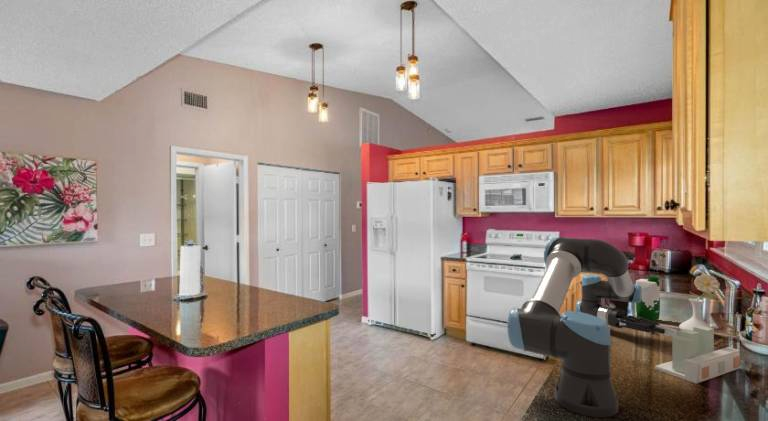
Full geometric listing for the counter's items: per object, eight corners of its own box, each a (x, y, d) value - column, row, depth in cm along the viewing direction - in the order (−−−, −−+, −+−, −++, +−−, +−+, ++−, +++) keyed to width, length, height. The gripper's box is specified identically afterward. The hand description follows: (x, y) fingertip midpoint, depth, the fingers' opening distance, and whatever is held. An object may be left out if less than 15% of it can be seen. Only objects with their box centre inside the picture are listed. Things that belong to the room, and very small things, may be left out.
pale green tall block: (686, 374, 117) (686, 341, 116) (672, 369, 120) (672, 337, 120) (694, 371, 118) (694, 339, 118) (679, 366, 122) (679, 335, 122)
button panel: (696, 383, 113) (696, 363, 113) (655, 368, 123) (655, 350, 123) (739, 368, 123) (739, 350, 123) (698, 355, 134) (698, 338, 134)
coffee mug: (632, 320, 175) (632, 299, 175) (612, 319, 177) (612, 298, 177) (622, 314, 186) (622, 293, 186) (603, 313, 188) (603, 292, 188)
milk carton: (656, 322, 172) (656, 278, 172) (633, 318, 179) (633, 276, 179) (662, 319, 178) (662, 276, 178) (639, 314, 185) (639, 273, 185)
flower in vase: (675, 332, 159) (675, 272, 158) (683, 327, 166) (683, 269, 166) (716, 341, 148) (716, 277, 148) (722, 334, 156) (722, 273, 156)
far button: (707, 360, 127) (707, 330, 127) (693, 356, 130) (693, 327, 130) (713, 358, 129) (713, 328, 128) (699, 354, 132) (699, 325, 132)
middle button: (691, 365, 123) (691, 334, 123) (678, 360, 127) (678, 330, 127) (698, 362, 125) (698, 332, 125) (684, 358, 128) (685, 329, 128)
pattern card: (702, 382, 113) (702, 365, 113) (699, 381, 114) (699, 364, 114) (740, 368, 122) (740, 353, 122) (737, 367, 123) (737, 352, 123)
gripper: (622, 323, 160) (686, 341, 139) (602, 328, 155) (665, 347, 134) (622, 305, 160) (686, 321, 139) (602, 309, 155) (665, 326, 133)
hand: (676, 333), depth 136 cm, fingers closed
